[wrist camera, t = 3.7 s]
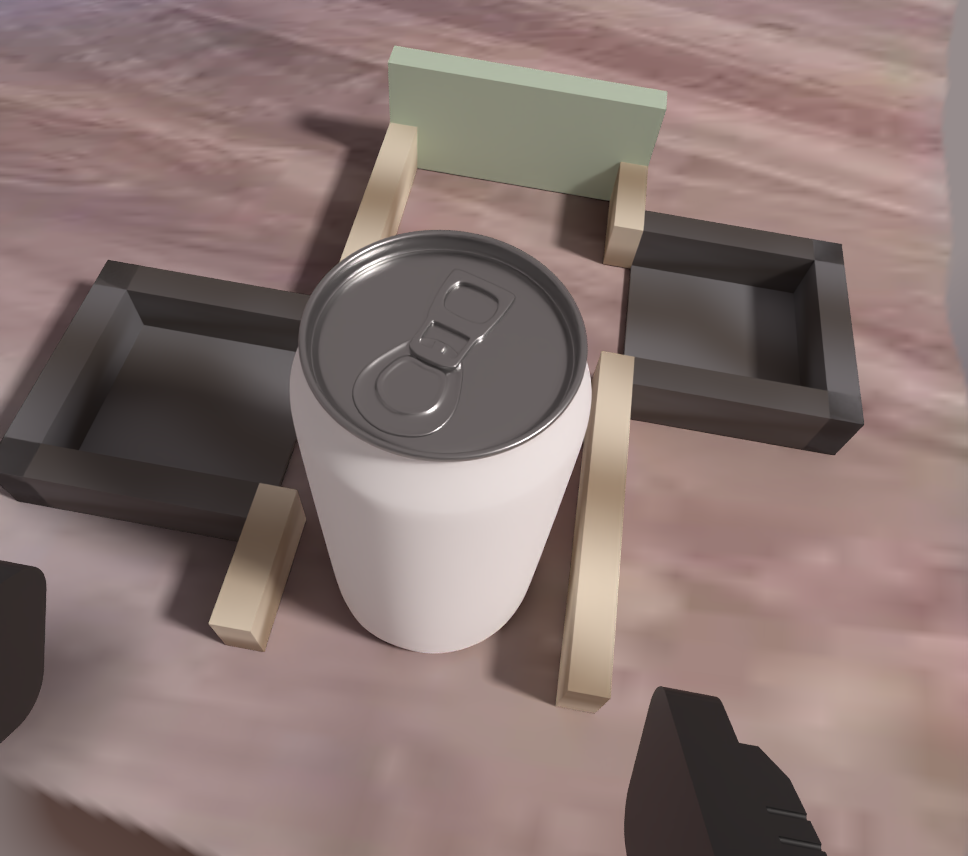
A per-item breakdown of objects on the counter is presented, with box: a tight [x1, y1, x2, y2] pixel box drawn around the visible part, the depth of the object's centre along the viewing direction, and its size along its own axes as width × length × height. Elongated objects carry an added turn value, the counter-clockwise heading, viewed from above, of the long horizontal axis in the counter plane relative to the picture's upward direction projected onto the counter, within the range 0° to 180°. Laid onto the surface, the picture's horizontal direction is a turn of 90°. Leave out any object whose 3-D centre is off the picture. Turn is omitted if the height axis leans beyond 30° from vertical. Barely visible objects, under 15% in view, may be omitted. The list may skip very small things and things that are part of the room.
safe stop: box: [388, 46, 667, 201], centre depth 33 cm, size 1×11×5 cm, turn 81°
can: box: [290, 230, 592, 653], centre depth 20 cm, size 6×6×12 cm
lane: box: [0, 122, 864, 714], centre depth 28 cm, size 24×28×2 cm
